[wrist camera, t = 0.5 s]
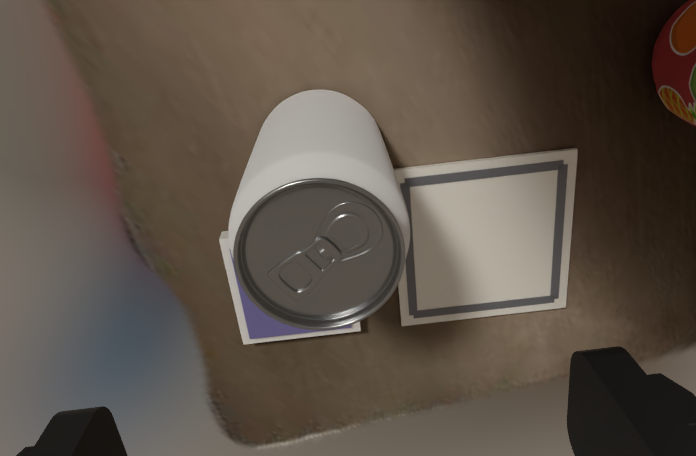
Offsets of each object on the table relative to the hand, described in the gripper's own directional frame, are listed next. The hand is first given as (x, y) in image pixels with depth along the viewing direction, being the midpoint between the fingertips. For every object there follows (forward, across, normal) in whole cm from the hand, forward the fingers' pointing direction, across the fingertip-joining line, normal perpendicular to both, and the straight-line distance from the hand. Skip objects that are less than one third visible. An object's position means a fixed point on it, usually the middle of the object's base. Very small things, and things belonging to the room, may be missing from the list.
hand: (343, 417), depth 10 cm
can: (+21, +1, +1) cm, 21 cm away
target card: (+21, -8, +7) cm, 23 cm away
